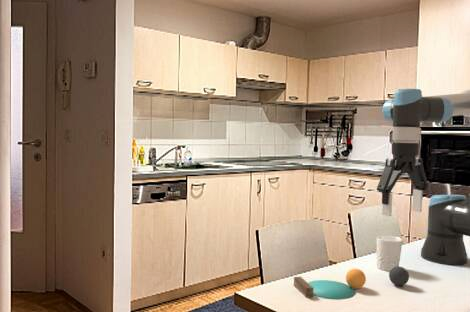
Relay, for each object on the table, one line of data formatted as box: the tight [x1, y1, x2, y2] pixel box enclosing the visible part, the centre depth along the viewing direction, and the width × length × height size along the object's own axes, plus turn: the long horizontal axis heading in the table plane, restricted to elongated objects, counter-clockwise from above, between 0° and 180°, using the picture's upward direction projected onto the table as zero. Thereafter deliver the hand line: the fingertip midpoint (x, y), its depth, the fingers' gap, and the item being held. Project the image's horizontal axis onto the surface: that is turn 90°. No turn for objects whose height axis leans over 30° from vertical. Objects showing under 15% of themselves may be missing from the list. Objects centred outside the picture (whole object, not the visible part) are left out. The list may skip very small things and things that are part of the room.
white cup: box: [376, 235, 403, 272], centre depth 149 cm, size 8×8×10 cm
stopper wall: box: [293, 276, 314, 298], centre depth 126 cm, size 2×9×2 cm, turn 14°
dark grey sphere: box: [388, 265, 410, 287], centre depth 133 cm, size 6×6×6 cm
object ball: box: [345, 268, 367, 289], centre depth 130 cm, size 6×6×6 cm
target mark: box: [307, 279, 356, 300], centre depth 128 cm, size 14×14×1 cm
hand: (402, 213), depth 135 cm, fingers open, 13 cm apart
